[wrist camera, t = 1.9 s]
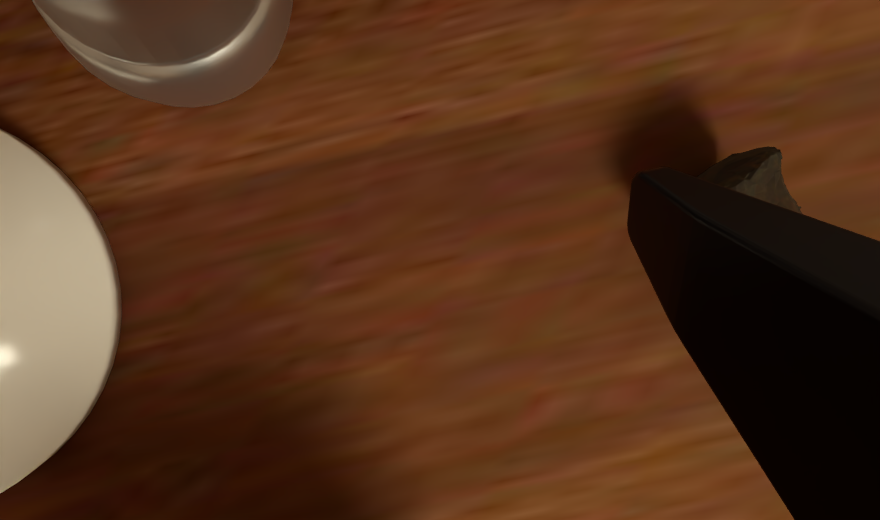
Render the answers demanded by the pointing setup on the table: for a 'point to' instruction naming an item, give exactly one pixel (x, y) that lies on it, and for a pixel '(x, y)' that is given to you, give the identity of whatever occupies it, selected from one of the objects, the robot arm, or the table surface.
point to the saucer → (49, 309)
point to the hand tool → (753, 176)
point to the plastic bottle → (172, 44)
